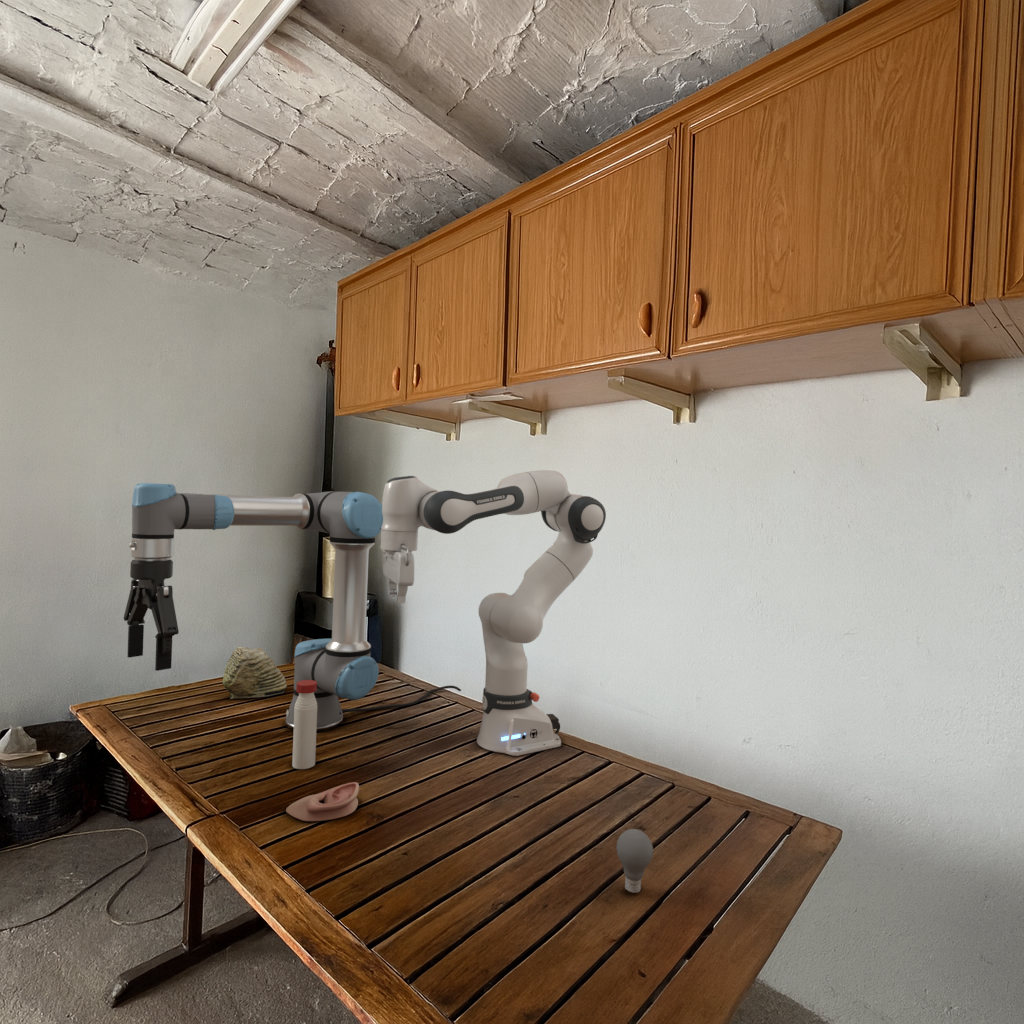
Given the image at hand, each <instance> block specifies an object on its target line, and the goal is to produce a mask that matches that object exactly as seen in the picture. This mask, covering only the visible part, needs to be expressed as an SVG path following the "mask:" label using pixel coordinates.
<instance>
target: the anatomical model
mask: <svg viewBox="0 0 1024 1024" xmlns="http://www.w3.org/2000/svg"><path fill="white" fill-rule="evenodd" d="M359 792H360V785H359V783H358V782H355V781H352V782H347V783H344V784H341V785H338V786H335V787H332V788H329V789H327V790H324V791H321V792H319V793H316V794H311V795H307V796H304V797H302V798H300V799H298V800H296V801H294V802H293V803H291V804H289V806H287V807H286V809H285V812H286V813H287V814H288V815H289V816H291V817H293V818H295V819H297V820H300V821H303V822H321V821H329V820H334V819H339V818H342V817H346V816H348V815H351V814H353V812H355V811H356V809H357V808H358V805H359V799H358V798H357V796H358V795H359Z"/></svg>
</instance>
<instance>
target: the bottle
mask: <svg viewBox="0 0 1024 1024" xmlns="http://www.w3.org/2000/svg"><path fill="white" fill-rule="evenodd" d="M316 730H317V702H316V698H315V695H314V692H313V693H299V696H298V698H297V701H296V703H295V706H294V730H292V731H293V736H292V759H291V761H292V762H291V766H292V768H293V769H296V770H307V769H310V768H313V767H314V766H316V757H317V756H316V754H317V752H316V751H317V732H316Z"/></svg>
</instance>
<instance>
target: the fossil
mask: <svg viewBox="0 0 1024 1024" xmlns="http://www.w3.org/2000/svg"><path fill="white" fill-rule="evenodd" d="M222 676H223V677H222V685H223V687H224V688H225V690H226V691H228V693H229V698H230V699H250V698H264V697H271V696H275V695H281V694H284V693H285V691H286V689H287V687H288V686H287V680H286V678H285V676H284V674H283V673H282V672H281V669H279V668H278V667H277V665H276V663H275V662H274V660H273V659H272V658H271V657H270V656H269V655H268V654H267V653H266V652H265V650H264V649H263V648H260V647H258V648H251V647H247V646H246V647H245V646H238V647H237V648H236V649H235V650H233V651H232V653H231V656H230V657H229V659H228V660H227V663H226V666H225V668H224V671H223V675H222Z"/></svg>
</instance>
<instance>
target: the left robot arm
mask: <svg viewBox="0 0 1024 1024" xmlns="http://www.w3.org/2000/svg"><path fill="white" fill-rule="evenodd" d="M131 520H132V521H131V542H130V543H128V547H129V548H130V549H131V550H130V556H131V558H133V559H132V560H131V561H130V567H129V568H130V571H129V574H130V575H129V576H130V578H131V581H130V590H129V594H128V598H127V603H126V607H125V610H124V615H123V621H124V622H126V624H127V626H128V629H127V630H128V631H127V658H135V657H142V656H144V635H145V634H144V630H145V625H144V624H145V623H146V621H145V619H144V618H145V616H146V615H147V612H148V609H149V610H151V613H152V618H153V620H154V624H155V627H156V631H157V633H156V635H155V636H154V638H155V661H154V663H155V665H154V668H155V669H154V670H155V671H157V672H159V671H164V670H169V669H172V659H173V657H172V655H173V637H175V636H176V635H179V632H180V631H179V625H178V619H177V615H176V614H177V613H176V609H175V603H174V597H173V595H174V593H173V585H165V580H167V579H171V578H172V577H173V575H174V573H173V572H174V561H173V560H172V559H171V558H173V557H174V554H175V553H174V552H175V530H213V531H215V530H224V529H228V528H230V526H233V527H234V526H237V527H238V526H240V527H243V526H246V527H247V526H249V527H250V526H258V527H259V526H268V527H269V526H276V527H277V526H282V527H284V526H285V527H286V526H287V527H288V526H289V527H290V526H291V527H293V528H294V529H296V530H308V531H309V530H310V531H316V532H319V533H325V534H329V544H330V545H331V546H332V547H333V548H334V550H335V551H334V572H333V573H334V577H333V599H332V625H331V626H332V627H331V638H317V639H308V640H304V641H300V642H299V643H297V645H296V646H295V650H294V655H293V657H294V672H293V673H294V674H293V695H292V696H293V697H292V699H291V702H290V704H289V708H288V709H286V712H285V714H286V715H285V726H286V728H287V729H289V730H291V731H294V706H295V703H296V701H297V698H298V696H299V693H298V692H297V691H296V687H297V682H299V681H303V680H314V681H316V682H317V691H315V692H314V695H315V698H316V702H317V730H316V733H317V732H325V731H329V730H332V729H335V728H337V727H339V726H340V725H342V723H343V722H344V714H343V713H350V712H353V713H354V712H355V713H356V712H369V711H376V710H383V709H391V708H403V707H409V706H413V705H415V704H418V703H420V702H422V700H424V699H426V698H427V697H428V695H430V694H432V693H435V692H438V691H442V690H446V689H455V690H457V692H461V691H462V689H461V688H460V687H458V686H456V685H444V686H440V687H437V688H433V689H430V690H428V691H427V692H426V693H424V695H422V696H421V697H419V698H417V699H416V700H414V701H411V702H407V703H398V704H397V703H396V704H385V705H378V706H373V707H364V708H342V706H341V702H340V699H339V698H341V699H342V700H343V699H344V700H348V701H349V700H350V701H357V700H360V699H362V698H364V697H365V696H367V695H368V694H370V692H371V690H372V689H374V687H375V685H376V683H377V682H378V678H379V674H380V672H379V671H380V670H379V669H380V668H379V665H378V663H377V662H376V660H375V659H374V657H371V652H372V649H371V648H372V644H371V643H370V642H368V640H367V639H366V631H367V607H368V606H367V605H368V604H367V602H368V582H369V581H368V579H369V555H370V553H369V552H370V550H371V548H372V547H374V545H375V544H376V536H378V535H379V534H381V527H382V524H383V515H382V502H380V501H379V500H378V498H377V497H375V495H373V494H370V493H367V492H363V491H362V492H361V491H337V490H336V491H335V490H333V491H332V490H330V491H321V492H311V493H295V494H294V495H293V496H276V495H275V496H274V495H273V496H272V495H248V494H247V495H246V494H244V495H243V494H220V493H219V494H218V493H217V494H216V493H215V494H214V493H189V492H187V493H186V492H177V491H176V486H175V485H174V484H173V483H152V482H139V483H137V484H136V485H135V486H134V488H133V492H132V501H131Z"/></svg>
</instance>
